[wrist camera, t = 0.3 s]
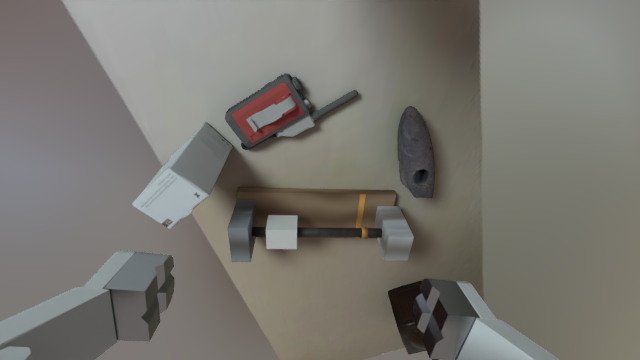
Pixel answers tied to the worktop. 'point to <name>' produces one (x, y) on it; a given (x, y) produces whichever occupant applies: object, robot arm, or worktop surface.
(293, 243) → the sleeve
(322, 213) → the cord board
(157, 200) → the skincare box
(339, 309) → the worktop surface
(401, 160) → the perforated stone tool
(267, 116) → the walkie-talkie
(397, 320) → the manual coffee grinder
